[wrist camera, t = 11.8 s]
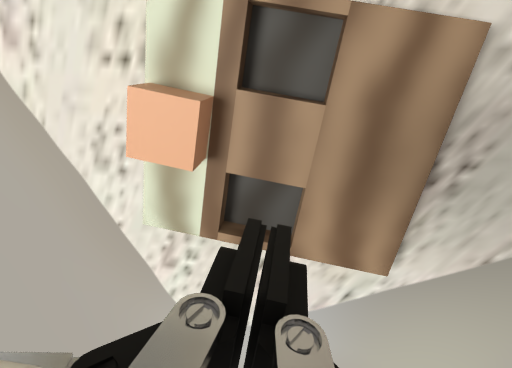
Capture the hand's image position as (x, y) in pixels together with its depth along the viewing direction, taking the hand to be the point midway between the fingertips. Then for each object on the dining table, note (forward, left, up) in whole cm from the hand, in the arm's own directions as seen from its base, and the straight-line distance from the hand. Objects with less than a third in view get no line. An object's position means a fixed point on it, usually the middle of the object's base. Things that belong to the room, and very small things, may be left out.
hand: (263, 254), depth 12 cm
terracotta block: (+10, 0, -18) cm, 21 cm away
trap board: (0, 0, -21) cm, 21 cm away
